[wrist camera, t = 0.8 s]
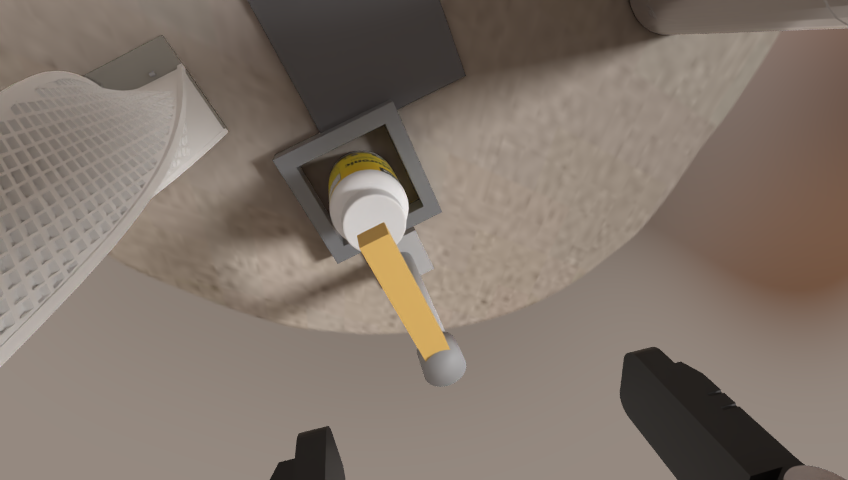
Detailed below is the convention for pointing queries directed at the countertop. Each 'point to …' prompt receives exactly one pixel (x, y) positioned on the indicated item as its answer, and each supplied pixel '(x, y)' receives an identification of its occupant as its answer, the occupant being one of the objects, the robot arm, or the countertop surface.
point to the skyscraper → (87, 171)
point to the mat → (360, 52)
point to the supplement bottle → (366, 197)
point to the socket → (427, 202)
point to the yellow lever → (412, 308)
